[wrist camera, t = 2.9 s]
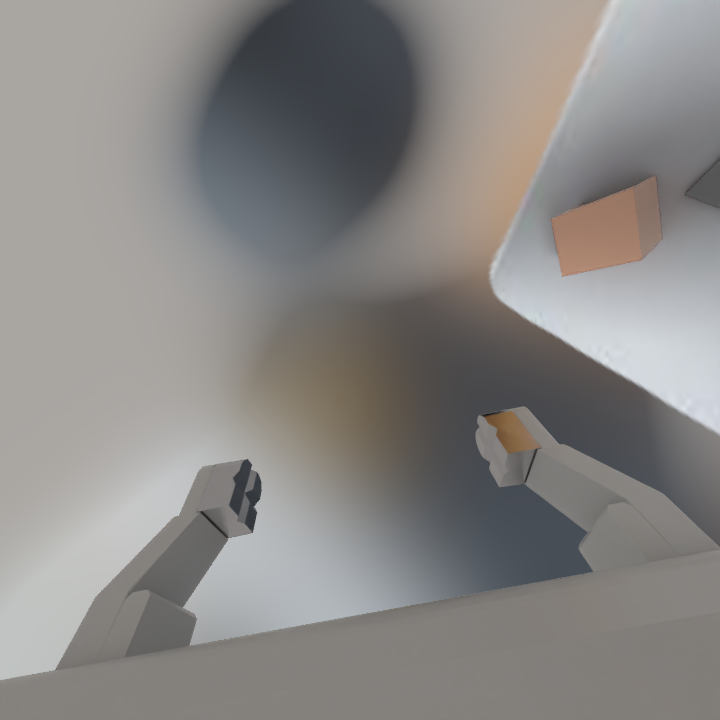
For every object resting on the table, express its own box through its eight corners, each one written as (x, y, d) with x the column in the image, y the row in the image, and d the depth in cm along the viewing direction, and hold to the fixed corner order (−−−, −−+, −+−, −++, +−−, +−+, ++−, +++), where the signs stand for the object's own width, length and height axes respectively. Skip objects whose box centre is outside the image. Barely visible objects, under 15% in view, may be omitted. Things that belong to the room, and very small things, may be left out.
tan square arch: (656, 175, 27) (633, 187, 24) (662, 239, 29) (641, 259, 25) (578, 205, 32) (550, 219, 29) (587, 257, 34) (562, 276, 31)
